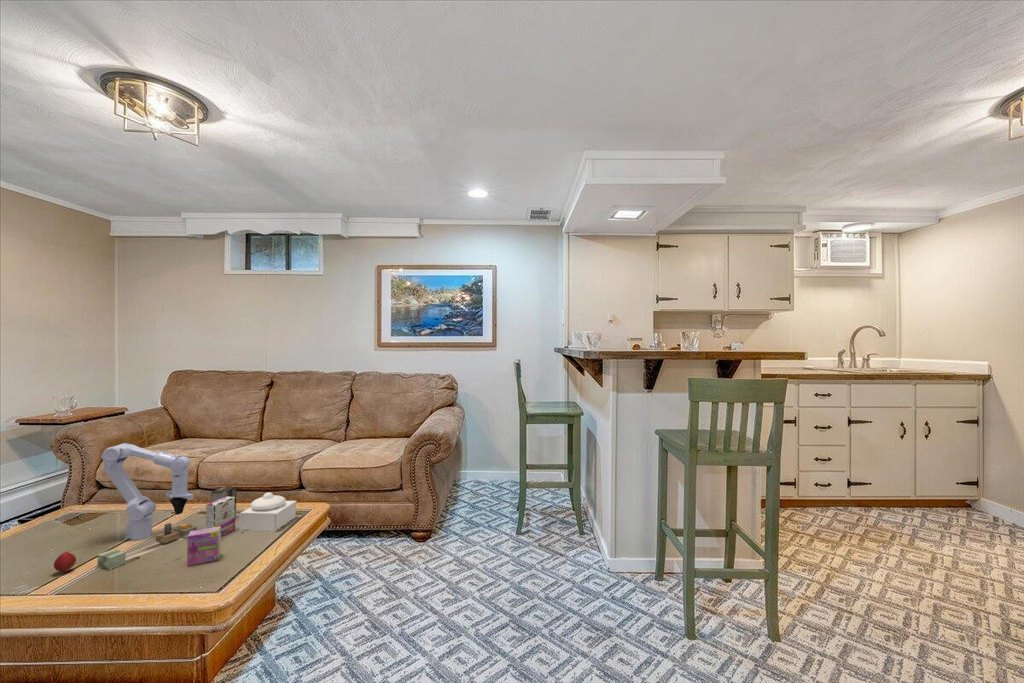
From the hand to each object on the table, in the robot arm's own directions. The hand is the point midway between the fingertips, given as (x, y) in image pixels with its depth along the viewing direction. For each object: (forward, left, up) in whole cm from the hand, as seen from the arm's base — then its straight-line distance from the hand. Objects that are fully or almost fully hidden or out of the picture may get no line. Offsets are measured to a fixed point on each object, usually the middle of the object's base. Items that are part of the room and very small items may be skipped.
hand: (178, 513), depth 196 cm
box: (+35, -12, -10) cm, 38 cm away
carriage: (+5, -8, -8) cm, 12 cm away
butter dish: (+27, +24, -10) cm, 38 cm away
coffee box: (+3, +19, -10) cm, 22 cm away
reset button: (+5, -1, -8) cm, 10 cm away
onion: (-5, -37, -10) cm, 39 cm away
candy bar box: (+19, +6, -10) cm, 22 cm away
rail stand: (+5, -14, -10) cm, 18 cm away
